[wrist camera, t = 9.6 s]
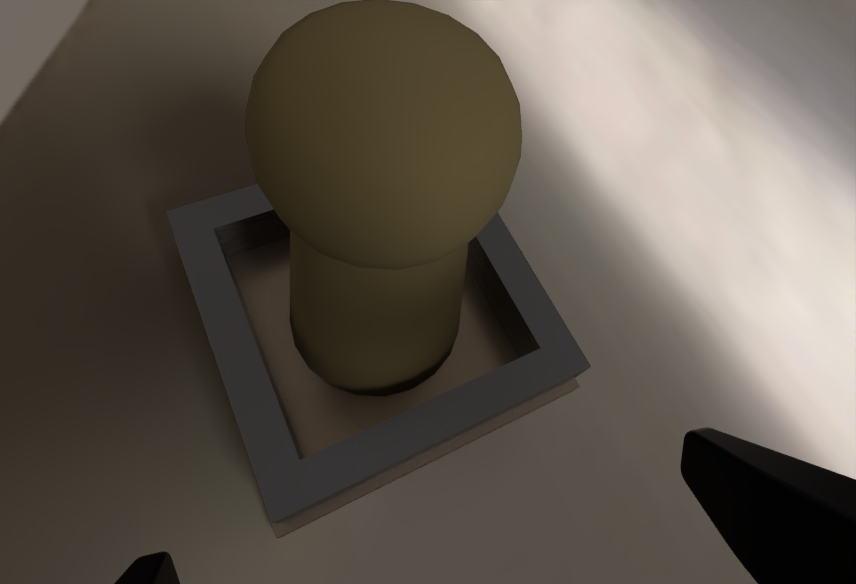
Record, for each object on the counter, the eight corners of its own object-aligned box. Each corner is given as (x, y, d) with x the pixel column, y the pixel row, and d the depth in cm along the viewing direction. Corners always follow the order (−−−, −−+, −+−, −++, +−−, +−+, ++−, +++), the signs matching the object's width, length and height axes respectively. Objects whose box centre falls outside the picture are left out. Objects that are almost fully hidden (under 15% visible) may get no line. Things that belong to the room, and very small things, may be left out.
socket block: (573, 390, 19) (603, 371, 16) (279, 537, 16) (264, 540, 13) (439, 161, 22) (448, 118, 20) (179, 245, 19) (153, 206, 17)
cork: (408, 430, 17) (474, 295, 7) (253, 341, 17) (107, 99, 7) (486, 287, 19) (618, 35, 9) (348, 214, 20) (334, -96, 10)
